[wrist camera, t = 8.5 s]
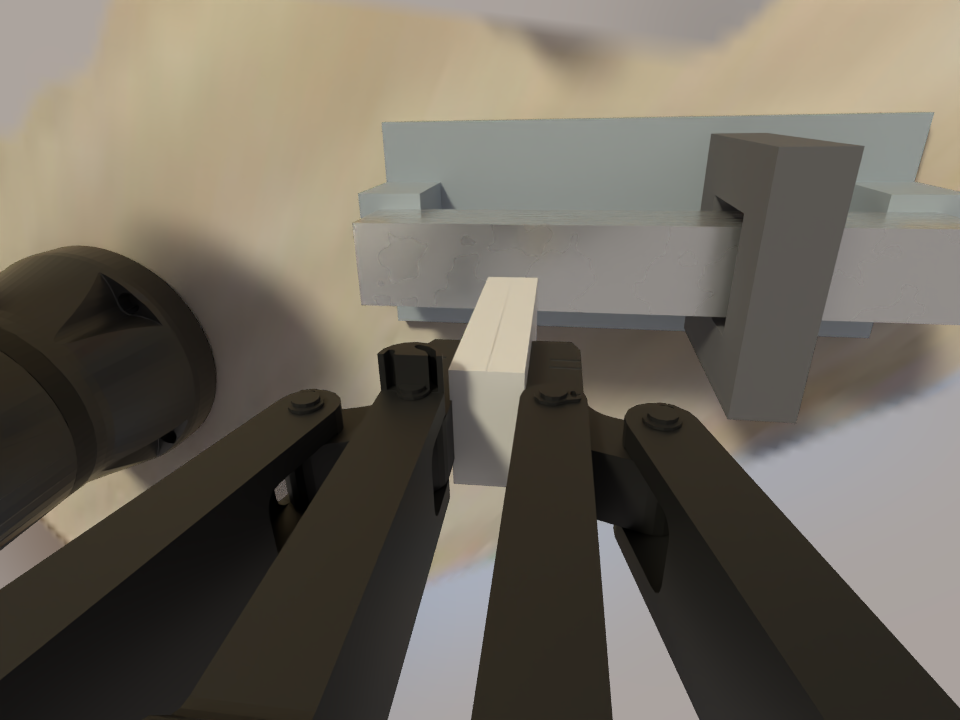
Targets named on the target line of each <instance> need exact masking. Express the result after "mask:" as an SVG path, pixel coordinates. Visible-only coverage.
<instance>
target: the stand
mask: <svg viewBox="0 0 960 720" xmlns="http://www.w3.org/2000/svg"><path fill="white" fill-rule="evenodd" d="M933 115H934V112H912V113H857V114H803V115H748V116H693V117H638V118H583V119H528V120H473V121H418V122H382V132H383V144H384V155H385V167H386V179H387V182H386V183H384V184H381V185H379V186H376V187H374V188H371V189H368V190H366V191H363V192H361V193H358V196H359V206H360V215H361V218H363V217H365V216H367V215H369V214H371V213H373V212H375V211H377V210H378V209H490V210H648V211H700V209H701V202H702V195H703V188H704V181H705V174H706V166H707V159H708V152H709V145H710V138H711V134H716V133H772V134H779V135H787V136H794V137H801V138H809V139H816V140H824V141H831V142H838V143H846V144H853V145H861V146H865V147H864V151H863V155H862V159H861V163H860V167H859V171H858V175H857V179H856V183H855V187H854V191H853V195H852V200H851V204H850V208H849V212H941V213H945V214H948V215H951V216H955V217H958V218H960V192H959V191H954V190H950V189H945V188H941V187H936V186H932V185H927V184H923V183H918V182H914V181H915V177H916V174H917V170H918V167H919V163H920V160H921V157H922V153H923V150H924V146H925V143H926V139H927V136H928V132H929V129H930V125H931V122H932V118H933ZM397 309H398V320H401V321H427V322H454V323H469V321H470V318H471V316H472V314H473V311H474V309H467V308H437V307H407V306H397ZM684 323H685V316H675V315H645V314H615V313H585V312H556V311H537V326H560V327H587V328H613V329H640V330H666V331H685V330H684ZM873 323H874V322H853V321H823V320H822V321H821V325H820V329H819V333H818V336H825V337H852V338H869V336H870V333H871V329H872V326H873Z"/></svg>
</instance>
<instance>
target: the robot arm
mask: <svg viewBox="0 0 960 720" xmlns="http://www.w3.org/2000/svg"><path fill="white" fill-rule="evenodd" d="M537 297H538V278H523V277H488V279H487V281H486V283H485V286H484V288H483V290H482V293H481V295H480V297H479V300H478V302H477V304H476V307H475V309H474V311H473V314H472V316H471V318H470V321H469V323H468V325H467V328H466V330H465V332H464V335H463V337H462V339H461V340H443V339H435V340H433V341H431V342H430V343H420V342H410V343H401V344H396V345H392V346H390V347H387V348H385V349H383V350H381V351H380V352H379V353H378V354H377V355H378V364H379V374H380V383H381V392H380V393H379V395H378V396H377V398H376V400H375V401H374V403H373V404H372V405H370V406H365V407H358V408H350V409H342V407H341V400H340V397H339V396H338V395H337V394H336V393H333V392H330V391H327V390H317V389H309V390H308V389H307V390H301V391H299V392H297V393H293V394H290V395H288V396H286V397H284V398H282V399H280V400H278V401H277V402H275V403H274V404H273V405H271V406H270V407H268V408H267V409H265V410H264V411H262V412H261V413H259V414H258V415H256V416H255V417H253V418H252V419H250V420H249V421H248V422H246V423H245V424H243V425H242V426H240V427H239V428H237V429H236V430H234V431H233V432H231V433H230V434H228V435H227V436H225V437H224V438H223V439H221V440H220V441H218V442H217V443H215V444H214V445H212V446H211V447H209V448H208V449H206V450H205V451H203V452H202V453H200V454H199V455H197V456H196V457H195V458H193V459H192V460H190V461H189V462H187V463H186V464H184V465H183V466H181V467H180V468H178V469H177V470H175V471H174V472H172V473H171V474H170V475H168V476H167V477H165V478H164V479H162V480H161V481H159V482H158V483H156V484H155V485H153V486H152V487H150V488H149V489H147V490H146V491H145V492H143V493H142V494H140V495H139V496H137V497H136V498H134V499H133V500H131V501H130V502H128V503H127V504H125V505H124V506H122V507H121V508H119V509H118V510H117V511H115V512H114V513H112V514H111V515H109V516H108V517H106V518H105V519H103V520H102V521H100V522H99V523H97V524H96V525H94V526H93V527H92V528H90V529H89V530H87V531H86V532H84V533H83V534H81V535H80V536H78V537H77V538H75V539H74V540H72V541H71V542H69V543H68V544H67V545H65V546H64V547H62V548H61V549H59V550H58V551H56V552H55V553H53V554H52V555H50V556H49V557H47V558H46V559H44V560H43V561H42V562H40V563H39V564H37V565H36V566H34V567H33V568H31V569H30V570H28V571H27V572H25V573H24V574H23V575H21V576H20V577H18V578H17V579H15V580H14V581H12V582H11V583H9V584H8V585H6V586H5V587H3V588H2V589H0V720H387V719H388V716H389V712H390V709H391V705H392V702H393V698H394V694H395V691H396V687H397V684H398V680H399V677H400V673H401V669H402V666H403V663H404V659H405V655H406V652H407V648H408V645H409V641H410V638H411V634H412V631H413V627H414V623H415V620H416V616H417V613H418V609H419V606H420V602H421V599H422V595H423V592H424V588H425V584H426V581H427V577H428V574H429V570H430V567H431V563H432V560H433V556H434V552H435V549H436V545H437V542H438V538H439V535H440V531H441V528H442V524H443V520H444V517H445V513H446V510H447V506H448V503H449V499H450V489H449V476H450V473H451V469H452V466H453V478H454V484H468V485H483V486H498V487H506V492H505V498H504V505H503V512H502V518H501V525H500V531H499V538H498V545H497V551H496V558H495V565H494V571H493V578H492V585H491V592H490V598H489V605H488V611H487V618H486V625H485V631H484V637H483V644H482V652H481V658H480V665H479V671H478V678H477V684H476V691H475V697H474V704H473V710H472V718H471V720H613V719H612V706H611V694H610V681H609V668H608V656H607V643H606V630H605V618H604V606H603V593H602V581H601V568H600V555H599V542H598V529H597V520H600V521H604V522H607V523H610V524H613V525H614V527H613V529H614V534H615V538H616V540H617V542H618V545H619V546H620V549H621V551H622V553H623V555H624V558H625V560H626V562H627V564H628V566H629V568H630V570H631V573H632V575H633V577H634V579H635V581H636V584H637V586H638V588H639V590H640V592H641V594H642V596H643V599H644V601H645V603H646V605H647V607H648V609H649V612H650V614H651V616H652V618H653V620H654V622H655V624H656V627H657V629H658V631H659V633H660V635H661V638H662V640H663V642H664V644H665V646H666V648H667V650H668V653H669V655H670V657H671V659H672V661H673V663H674V665H675V668H676V670H677V672H678V674H679V676H680V679H681V681H682V683H683V685H684V687H685V689H686V691H687V694H688V696H689V698H690V700H691V702H692V704H693V707H694V709H695V711H696V713H697V715H698V717H699V720H960V708H959V707H958V706H957V705H956V703H954V701H953V700H952V699H951V698H950V697H949V696H948V695H947V694H946V692H945V691H944V690H943V689H942V688H941V687H940V686H939V685H938V684H937V683H936V681H935V680H934V679H933V678H932V677H931V676H930V675H929V674H928V673H927V671H926V670H925V669H924V668H923V667H922V666H921V665H920V664H919V663H918V662H917V660H915V658H914V657H913V656H912V655H911V654H910V653H909V652H908V651H907V649H906V648H905V647H904V646H903V645H902V644H901V643H900V642H899V641H898V639H897V638H896V637H895V636H894V635H893V634H892V633H891V632H890V631H889V630H888V629H887V627H886V626H885V625H884V624H883V623H882V622H881V621H880V620H879V618H878V617H877V616H876V615H875V614H874V613H873V612H872V611H871V610H870V609H869V607H868V606H867V605H866V604H865V603H864V602H863V601H862V600H861V599H860V597H859V596H858V595H857V594H856V593H855V592H854V591H853V590H852V589H851V588H850V586H849V585H848V584H847V583H846V582H845V581H844V580H843V579H842V578H841V577H840V576H839V574H838V573H837V572H836V571H835V570H834V569H833V568H832V567H831V565H830V564H829V563H828V562H827V561H826V560H825V559H824V558H823V557H822V556H821V554H820V553H819V552H818V551H817V550H816V549H815V548H814V547H813V546H812V544H811V543H810V542H809V541H808V540H807V539H806V538H805V537H804V536H803V535H802V534H801V532H800V531H799V530H798V529H797V528H796V527H795V526H794V525H793V524H792V523H791V521H790V520H789V519H788V518H787V517H786V516H785V515H784V514H783V512H782V511H781V510H780V509H779V508H778V507H777V506H776V505H775V504H774V503H773V501H772V500H771V499H770V498H769V497H768V496H767V495H766V494H765V493H764V492H763V491H762V489H761V488H760V487H759V486H758V485H757V484H756V483H755V482H754V480H753V479H752V478H751V477H750V476H749V475H748V474H747V473H746V472H745V471H744V469H743V468H742V467H741V466H740V465H739V464H738V463H737V462H736V461H735V459H734V458H733V457H732V456H731V455H730V454H729V453H728V452H727V451H726V450H725V448H724V447H723V446H722V445H721V444H720V443H719V442H718V441H717V440H716V438H715V437H714V436H713V435H712V434H711V433H710V432H709V431H708V430H707V429H706V427H705V426H704V425H703V424H702V423H701V422H700V421H699V420H698V419H697V418H696V417H695V416H694V415H692V414H691V413H690V412H688V411H686V410H683V409H681V408H679V407H676V406H675V405H671V404H668V405H667V404H666V403H647V404H641V405H636V406H634V407H633V408H631V409H629V410H628V411H627V413H626V415H625V418H624V420H621V419H617V418H613V417H609V416H606V415H603V414H601V413H599V412H596V411H595V410H593V409H592V408H590V407H589V406H588V403H587V398H586V396H585V394H584V393H583V381H582V370H581V354H580V350H579V349H578V348H577V347H576V346H575V345H574V344H573V343H572V342H549V341H536V339H537ZM215 389H216V373H215V366H214V361H213V356H212V353H211V350H210V347H209V344H208V341H207V339H206V337H205V334H204V332H203V330H202V328H201V327H200V325H199V323H198V321H197V320H196V318H195V317H194V315H193V314H192V312H191V311H190V309H189V308H188V307H187V305H186V304H185V303H184V302H183V301H182V299H181V298H180V297H179V296H178V295H177V294H176V293H175V292H174V291H173V290H172V289H171V288H170V287H169V286H168V285H167V284H166V283H165V282H164V281H163V280H161V279H160V278H159V277H158V276H156V275H155V274H154V273H152V272H151V271H149V270H148V269H147V268H145V267H143V266H142V265H140V264H138V263H137V262H135V261H133V260H131V259H129V258H127V257H125V256H122V255H120V254H117V253H115V252H112V251H108V250H105V249H101V248H96V247H89V246H68V247H62V248H57V249H54V250H50V251H46V252H43V253H39V254H35V255H32V256H29V257H26V258H24V259H22V260H19V261H17V262H15V263H14V264H12V265H10V266H9V267H7V268H6V269H5V270H3V271H2V272H1V273H0V550H2V549H3V548H4V547H5V546H7V545H8V544H9V543H10V542H12V541H13V540H14V539H15V538H17V537H18V536H19V535H20V534H22V533H23V532H24V531H25V530H27V529H28V528H29V527H30V526H32V525H33V524H34V523H36V522H37V521H38V520H39V519H41V518H42V517H43V516H44V515H46V514H47V513H48V512H49V511H51V510H52V509H53V508H54V507H56V506H57V505H58V504H60V503H61V502H62V501H63V500H64V499H66V498H67V497H68V496H70V495H71V494H72V493H74V492H75V491H76V490H78V489H79V488H80V487H82V486H83V485H84V484H86V483H87V482H90V481H92V480H95V479H98V478H101V477H103V476H106V475H109V474H112V473H115V472H117V471H120V470H123V469H126V468H128V467H131V466H134V465H137V464H140V463H142V462H145V461H148V460H151V459H153V458H156V457H159V456H161V455H163V454H165V453H167V452H169V451H170V450H172V449H173V448H175V447H176V446H178V445H179V444H180V443H181V442H182V441H184V440H185V439H186V438H187V437H188V436H190V435H191V434H192V433H193V432H194V431H196V430H197V429H198V428H199V427H200V425H201V424H202V423H203V422H204V420H205V419H206V417H207V416H208V414H209V412H210V409H211V407H212V404H213V401H214V396H215ZM284 479H285V481H286V486H287V491H288V494H287V495H286V496H285V497H284V498H283V499H282V500H280V501H279V502H278V501H277V499H276V496H275V491H274V490H275V488H276V487H277V486H278V484H279V483H280V482H281V481H283V480H284Z"/></svg>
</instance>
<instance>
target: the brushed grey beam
mask: <svg viewBox="0 0 960 720" xmlns="http://www.w3.org/2000/svg"><path fill="white" fill-rule="evenodd" d="M743 217H744V213H743V212H741V211H648V210H490V209H378V210H377V211H375V212H373V213H371V214H369V215H367V216H365V217H363V218H361V219H359V220H357V221H355V222H353V223H352V224H353V233H354V242H355V251H356V260H357V269H358V278H359V287H360V295H361V304H362V305H378V306H407V307H437V308H467V309H475V307H476V304H477V302H478V300H479V297H480V295H481V293H482V290H483V288H484V286H485V283H486V281H487V279H488V277H523V278H538V297H537V311H556V312H585V313H615V314H645V315H675V316H704V317H726V316H727V310H728V304H729V298H730V292H731V287H732V281H733V275H734V269H735V263H736V258H737V252H738V246H739V240H740V234H741V229H742V223H743ZM822 320H823V321H853V322H882V323H912V324H942V325H960V218H958V217H955V216H951V215H948V214H945V213H941V212H848V216H847V220H846V224H845V228H844V232H843V236H842V240H841V244H840V248H839V252H838V256H837V260H836V264H835V268H834V272H833V276H832V280H831V284H830V288H829V292H828V296H827V300H826V304H825V308H824V313H823V317H822Z"/></svg>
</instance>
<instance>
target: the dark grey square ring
mask: <svg viewBox="0 0 960 720" xmlns="http://www.w3.org/2000/svg"><path fill="white" fill-rule="evenodd" d="M864 147H865V146H861V145H853V144H846V143H838V142H831V141H824V140H816V139H809V138H801V137H794V136H787V135H779V134H772V133H716V134H711V138H710V145H709V152H708V159H707V166H706V174H705V181H704V188H703V195H702V202H701V209H700V211H741V212H743V213H744V217H743V223H742V229H741V234H740V240H739V246H738V252H737V258H736V263H735V269H734V275H733V281H732V287H731V292H730V298H729V304H728V310H727V316H726V317H704V316H685V323H684V330H685V332H686V334H687V336H688V338H689V340H690V342H691V344H692V346H693V348H694V350H695V352H696V355H697V357H698V359H699V361H700V363H701V365H702V367H703V369H704V371H705V373H706V375H707V377H708V379H709V381H710V383H711V386H712V388H713V390H714V392H715V394H716V396H717V398H718V400H719V402H720V404H721V406H722V408H723V410H724V412H725V415H726V417H727V419H733V420H750V421H767V422H783V423H796V421H797V417H798V413H799V409H800V405H801V401H802V397H803V393H804V389H805V385H806V381H807V377H808V373H809V369H810V365H811V361H812V357H813V353H814V349H815V345H816V341H817V337H818V333H819V329H820V325H821V321H822V317H823V313H824V308H825V304H826V300H827V296H828V292H829V288H830V284H831V280H832V276H833V272H834V268H835V264H836V260H837V256H838V252H839V248H840V244H841V240H842V236H843V232H844V228H845V224H846V220H847V216H848V212H849V208H850V204H851V200H852V195H853V191H854V187H855V183H856V179H857V175H858V171H859V167H860V163H861V159H862V155H863V151H864Z"/></svg>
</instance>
